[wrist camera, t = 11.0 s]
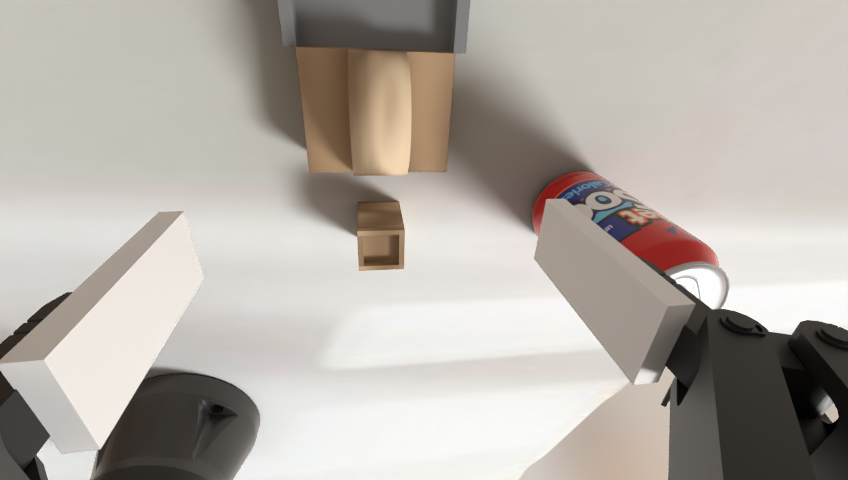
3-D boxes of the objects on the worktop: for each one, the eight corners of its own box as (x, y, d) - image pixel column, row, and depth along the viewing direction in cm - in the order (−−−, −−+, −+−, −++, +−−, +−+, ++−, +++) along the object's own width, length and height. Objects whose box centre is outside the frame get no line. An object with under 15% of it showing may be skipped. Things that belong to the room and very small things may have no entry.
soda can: (555, 255, 39) (651, 370, 26) (511, 209, 35) (596, 315, 22) (620, 203, 37) (758, 301, 24) (579, 149, 33) (716, 229, 20)
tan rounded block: (315, 155, 30) (301, 194, 23) (304, 43, 26) (283, 51, 19) (437, 155, 32) (457, 192, 25) (443, 49, 28) (470, 58, 21)
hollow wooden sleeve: (359, 238, 35) (359, 270, 30) (357, 202, 33) (357, 231, 28) (398, 237, 35) (403, 268, 31) (399, 201, 33) (404, 229, 29)
